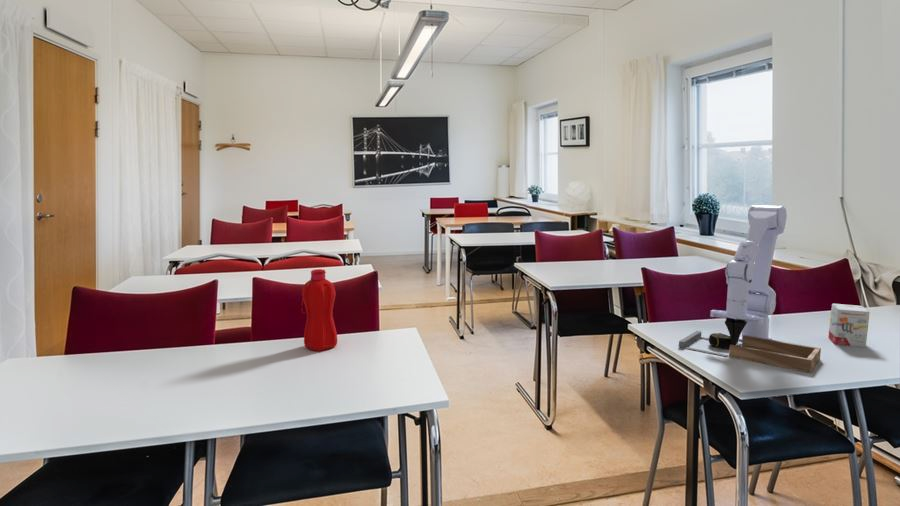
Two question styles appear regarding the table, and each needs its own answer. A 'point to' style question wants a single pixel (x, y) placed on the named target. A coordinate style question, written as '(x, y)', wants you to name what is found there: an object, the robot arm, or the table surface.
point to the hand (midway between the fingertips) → (734, 343)
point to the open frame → (776, 353)
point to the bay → (693, 338)
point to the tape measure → (720, 340)
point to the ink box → (848, 325)
